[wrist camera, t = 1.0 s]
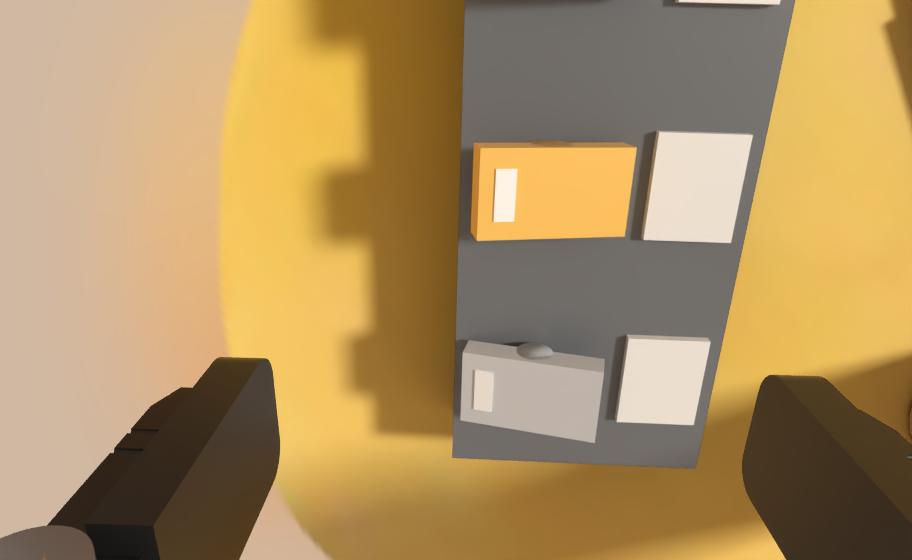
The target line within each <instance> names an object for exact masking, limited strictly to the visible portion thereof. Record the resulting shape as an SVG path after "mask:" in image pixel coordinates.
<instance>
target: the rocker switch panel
mask: <svg viewBox="0 0 912 560" xmlns="http://www.w3.org/2000/svg"><path fill="white" fill-rule="evenodd" d="M794 4H795V0H465V18H464V54H463V90H462V126H461V162H460V198H459V235H458V271H457V307H456V343H455V379H454V415H453V451H452V458H468V459H490V460H512V461H534V462H557V463H579V464H601V465H624V466H646V467H668V468H691V469H696V464H697V460H698V455H699V450H700V446H701V441H702V436H703V432H704V427H705V422H706V417H707V413H708V408H709V403H710V399H711V394H712V389H713V385H714V380H715V375H716V370H717V366H718V361H719V356H720V352H721V347H722V342H723V338H724V333H725V328H726V323H727V319H728V314H729V309H730V305H731V300H732V295H733V291H734V286H735V281H736V276H737V272H738V267H739V262H740V258H741V253H742V248H743V244H744V239H745V234H746V229H747V225H748V220H749V215H750V211H751V206H752V201H753V196H754V192H755V187H756V182H757V178H758V173H759V168H760V164H761V159H762V154H763V149H764V145H765V140H766V135H767V131H768V126H769V121H770V117H771V112H772V107H773V102H774V98H775V93H776V88H777V84H778V79H779V74H780V70H781V65H782V60H783V55H784V51H785V46H786V41H787V37H788V32H789V27H790V23H791V18H792V13H793V8H794ZM536 140H557V141H565V142H624V143H626V144H629V145H632V146H634V147H637V150H636V157H635V165H634V172H633V179H632V187H631V194H630V202H629V209H628V216H627V224H626V231H625V236H624V237H592V238H559V239H526V240H494V241H477V240H476V239H475V237H474V236H473V234H472V233H471V210H472V182H473V154H474V143H531V142H532V141H536ZM469 340H472V341H479V342H486V343H493V344H500V345H508V346H515V347H518V346H520V345H522V344H525V343H539V344H543V345H545V346H548V347H549V348H550V349H551V350H552V351H553V352H558V353H565V354H572V355H580V356H587V357H594V358H601V359H605V365H604V378H603V385H602V393H601V400H600V408H599V415H598V423H597V430H596V437H595V443H591V442H585V441H580V440H574V439H568V438H562V437H556V436H550V435H544V434H538V433H532V432H526V431H520V430H515V429H509V428H503V427H497V426H491V425H485V424H479V423H473V422H467V421H461V420H460V417H461V387H462V356H463V351H464V349H465V347H466V345H467V343H468V341H469Z"/></svg>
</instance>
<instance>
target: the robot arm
mask: <svg viewBox="0 0 912 560" xmlns="http://www.w3.org/2000/svg"><path fill="white" fill-rule="evenodd" d="M910 433H911V436H912V409H911V413H910ZM279 456H280V436H279V427H278V418H277V408H276V399H275V389H274V380H273V371H272V367H271V364H270V362H269V360H268V359H265V358H232V357H219V358H217V359H216V360H215V361H214V362H213V363H212V364H211V365H210V367H209V368H208V369H207V371H206V372H205V373H204V374H203V375H202V377H201V378H200V379H199V380H198V382H197V383H196V384H195V386H194V387H193V388H183V387H181V388H179V389H178V390H176V391H174V392H173V393H171V394H170V395H168V396H166V397H165V398H163V399H162V400H160V401H158V402H157V403H155V404H153V405H152V406H151V407H150V408H149V409H148V410H147V411H146V412H145V413H144V415H143V416H142V417H141V418H140V419H139V420H138V422H137V423H136V424H135V425H134V426H133V427H132V428H131V433H129V434H128V433H127V434H126V435H125V437H124V438H123V439H122V440H121V441H120V442H119V443H118V444H117V446H116V447H115V448H114V453H110V454H109V455H108V456H107V457H106V458H105V460H104V461H103V462H102V463H101V464H100V465H99V466H98V467H97V469H96V470H95V471H94V472H93V473H92V474H91V475H90V477H89V478H88V479H87V480H86V482H84V484H83V485H82V486H81V487H80V488H79V489H78V490H77V492H76V493H75V494H74V495H73V496H72V497H71V498H70V500H69V501H68V502H67V503H66V504H65V505H64V506H63V508H62V509H61V510H60V511H59V512H58V513H57V515H56V516H55V517H54V518H53V519H52V520H51V522H50V523H49V524H48V525H47V526H41V527H36V528H31V529H26V530H23V531H19V532H16V533H13V534H10V535H8V536H5V537H3V538H0V560H239V558H240V556H241V554H242V552H243V549H244V547H245V545H246V543H247V540H248V538H249V536H250V534H251V531H252V529H253V527H254V525H255V522H256V520H257V518H258V516H259V513H260V511H261V509H262V507H263V505H264V502H265V500H266V498H267V496H268V493H269V491H270V489H271V487H272V484H273V482H274V480H275V477H276V473H277V469H278V464H279ZM742 474H743V481H744V485H745V489H746V492H747V494H748V496H749V498H750V500H751V502H752V504H753V505H754V507H755V509H756V510H757V512H758V513H759V515H760V517H761V518H762V520H763V522H764V523H765V525H766V527H767V528H768V530H769V532H770V533H771V535H772V537H773V538H774V540H775V542H776V543H777V545H778V547H779V548H780V550H781V552H782V553H783V555H784V557H785V558H786V560H912V445H911V444H910V443H909V442H908V441H907V440H906V439H904V438H903V437H902V436H901V435H900V434H899V433H898V432H897V431H896V430H894V429H892V428H890V427H889V426H887V425H885V424H884V423H882V422H880V421H878V420H877V419H875V418H873V417H872V416H870V415H868V414H866V413H865V412H863V411H861V410H858V409H857V408H856V407H855V406H854V405H853V404H852V403H851V402H849V401H848V400H847V399H846V398H845V397H844V396H843V395H842V394H841V393H840V392H839V391H838V390H837V389H836V388H835V387H834V386H833V385H832V384H831V383H830V382H829V381H827V380H826V379H825V378H823V377H819V376H789V375H769V376H767V377H766V378H765V379H764V380H763V382H762V383H761V386H760V389H759V392H758V396H757V400H756V404H755V409H754V413H753V417H752V421H751V425H750V429H749V433H748V438H747V442H746V446H745V450H744V454H743V460H742Z"/></svg>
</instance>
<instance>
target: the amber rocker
mask: <svg viewBox="0 0 912 560" xmlns="http://www.w3.org/2000/svg"><path fill="white" fill-rule="evenodd" d="M636 150H637V147H634V146H632V145H629V144H626V143H624V142H565V141H557V140H536V141H532V142H531V143H474V154H473V182H472V210H471V233H472V234H473V236H474V237H475V239H476V240H477V241H494V240H526V239H559V238H592V237H624V236H625V231H626V224H627V216H628V209H629V202H630V194H631V187H632V179H633V172H634V165H635V157H636Z"/></svg>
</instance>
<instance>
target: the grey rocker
mask: <svg viewBox="0 0 912 560" xmlns="http://www.w3.org/2000/svg"><path fill="white" fill-rule="evenodd" d="M604 365H605V359H601V358H594V357H587V356H580V355H572V354H565V353H558V352H553V351H552V350H551V349H550V348H549V347H548V346H545V345H543V344H539V343H525V344H522V345H520V346H518V347H515V346H508V345H500V344H493V343H486V342H479V341H472V340H469V341H468V343H467V345H466V347H465V349H464V351H463V356H462V387H461V417H460V420H461V421H467V422H473V423H479V424H485V425H491V426H497V427H503V428H509V429H515V430H520V431H526V432H532V433H538V434H544V435H550V436H556V437H562V438H568V439H574V440H580V441H585V442H591V443H595V437H596V430H597V423H598V415H599V408H600V400H601V393H602V385H603V378H604Z"/></svg>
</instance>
